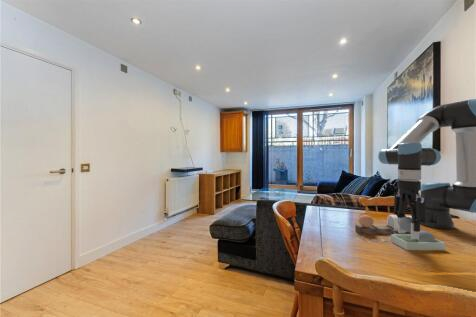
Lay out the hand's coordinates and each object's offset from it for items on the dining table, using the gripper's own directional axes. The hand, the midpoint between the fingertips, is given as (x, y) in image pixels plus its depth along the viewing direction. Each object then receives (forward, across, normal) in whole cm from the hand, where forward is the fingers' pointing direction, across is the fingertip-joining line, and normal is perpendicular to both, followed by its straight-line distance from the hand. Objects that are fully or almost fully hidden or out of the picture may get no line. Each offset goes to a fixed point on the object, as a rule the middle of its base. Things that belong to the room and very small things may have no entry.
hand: (408, 235), depth 87 cm
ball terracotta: (+2, -15, -8) cm, 17 cm away
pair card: (+5, -5, -8) cm, 11 cm away
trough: (+5, 0, +4) cm, 6 cm away
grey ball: (+4, 0, +7) cm, 8 cm away
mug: (+5, -20, +12) cm, 24 cm away
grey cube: (-2, 0, 0) cm, 2 cm away
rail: (+5, -15, -4) cm, 16 cm away
